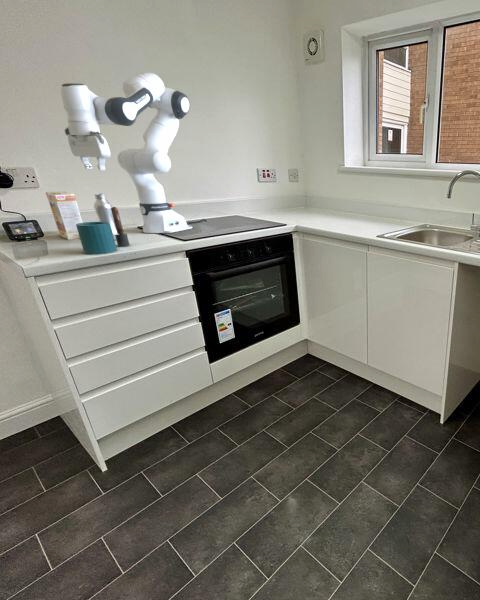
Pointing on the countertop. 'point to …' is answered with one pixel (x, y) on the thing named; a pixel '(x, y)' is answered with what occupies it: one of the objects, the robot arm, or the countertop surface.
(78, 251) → the countertop surface
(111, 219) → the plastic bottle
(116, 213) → the brush
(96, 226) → the teal pot
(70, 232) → the coffeecake box
